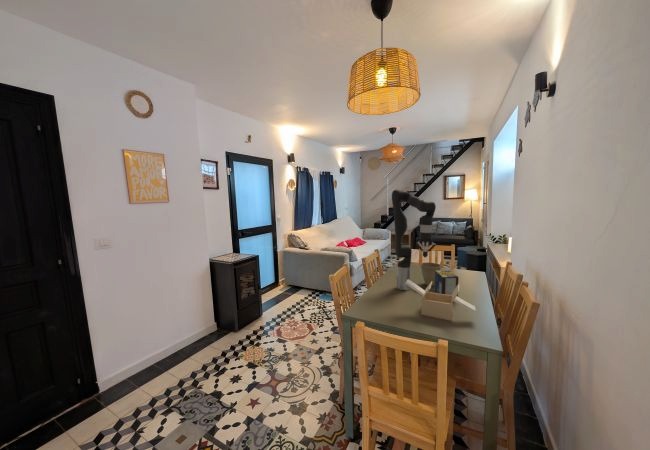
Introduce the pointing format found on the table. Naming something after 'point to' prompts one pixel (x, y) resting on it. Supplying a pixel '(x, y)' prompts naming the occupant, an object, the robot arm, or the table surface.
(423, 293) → the flap left
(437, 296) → the carton
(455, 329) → the table surface
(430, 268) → the plant pot
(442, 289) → the protein box
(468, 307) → the flap right
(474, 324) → the table surface
